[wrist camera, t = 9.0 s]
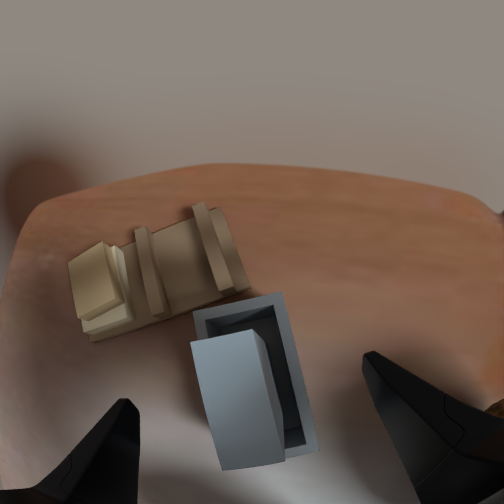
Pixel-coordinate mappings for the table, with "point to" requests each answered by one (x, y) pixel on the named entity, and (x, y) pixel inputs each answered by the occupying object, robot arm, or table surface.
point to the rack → (156, 275)
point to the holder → (281, 354)
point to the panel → (240, 399)
